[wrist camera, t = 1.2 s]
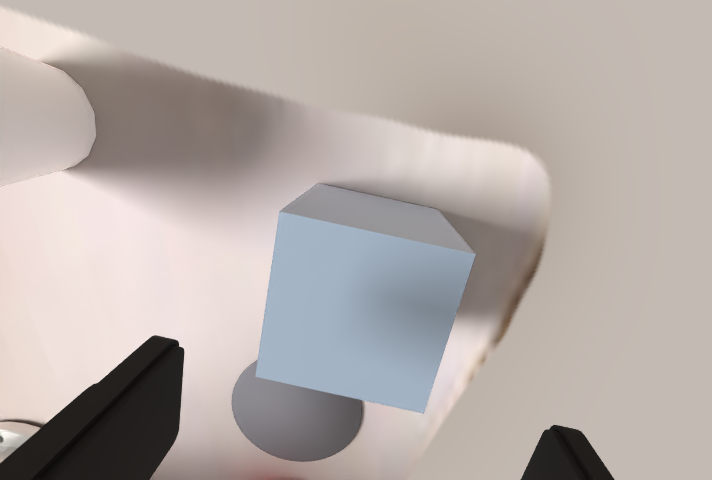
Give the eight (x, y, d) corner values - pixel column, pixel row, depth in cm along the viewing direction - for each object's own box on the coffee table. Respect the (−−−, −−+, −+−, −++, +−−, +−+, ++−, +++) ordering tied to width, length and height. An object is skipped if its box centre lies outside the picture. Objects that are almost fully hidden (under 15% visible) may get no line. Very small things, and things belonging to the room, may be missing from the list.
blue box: (407, 316, 24) (423, 413, 15) (298, 292, 24) (255, 376, 15) (438, 209, 22) (475, 254, 13) (318, 183, 22) (279, 211, 13)
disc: (283, 476, 29) (282, 478, 29) (206, 388, 27) (205, 390, 26) (386, 428, 27) (386, 430, 26) (312, 329, 25) (311, 330, 24)
